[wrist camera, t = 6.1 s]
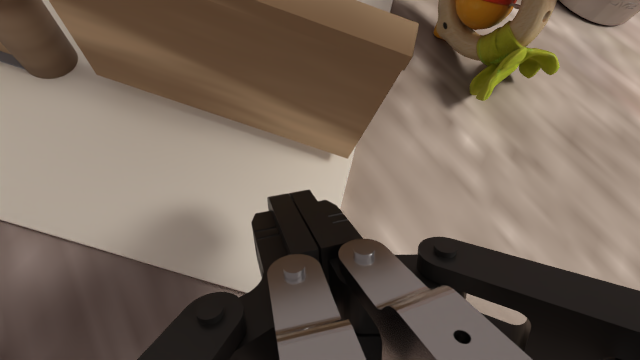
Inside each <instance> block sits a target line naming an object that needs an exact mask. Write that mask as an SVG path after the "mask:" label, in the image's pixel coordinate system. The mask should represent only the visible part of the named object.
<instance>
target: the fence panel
mask: <svg viewBox="0 0 640 360" xmlns="http://www.w3.org/2000/svg"><path fill="white" fill-rule="evenodd" d="M49 2H50V3H51V5H52V6H53V8H54V9H55V11H56V13H57V14H58V16H59V17H60V19H61V20H62V22H63V23H64V25H65V27H66V28H67V30H68V31H69V33H70V34H71V36H72V37H73V39H74V40H75V42H76V44H77V45H78V47H79V48H80V50H81V51H82V53H83V54H84V56H85V58H86V59H87V61H88V62H89V64H90V65H91V67H92V68H93V70H94V71H95V73H96V75H99V76H102V77H105V78H108V79H111V80H114V81H117V82H120V83H123V84H126V85H129V86H132V87H135V88H138V89H140V90H143V91H146V92H149V93H152V94H155V95H158V96H161V97H164V98H167V99H170V100H173V101H176V102H179V103H182V104H185V105H188V106H191V107H194V108H197V109H200V110H203V111H206V112H209V113H212V114H215V115H218V116H221V117H224V118H227V119H230V120H233V121H236V122H239V123H242V124H245V125H248V126H251V127H254V128H257V129H260V130H263V131H266V132H269V133H272V134H275V135H278V136H281V137H284V138H287V139H290V140H293V141H296V142H299V143H302V144H305V145H308V146H311V147H314V148H317V149H320V150H323V151H326V152H329V153H332V154H335V155H338V156H341V157H344V158H347V159H348V157H349V156H350V154H351V153H352V151H353V149H354V148H355V146H356V144H357V143H358V141H359V139H360V138H361V136H362V135H363V133H364V131H365V130H366V128H367V126H368V125H369V123H370V121H371V120H372V118H373V117H374V115H375V113H376V112H377V110H378V108H379V107H380V105H381V104H382V102H383V100H384V99H385V97H386V95H387V94H388V92H389V90H390V89H391V87H392V86H393V84H394V82H395V81H396V79H397V77H398V76H399V74H400V72H401V71H402V70H405V68H406V67H407V65H408V63H409V62H410V60H411V59H412V56H413V51H414V46H415V41H416V36H417V31H418V26H419V23H416V22H414V21H411V20H408V19H406V18H403V17H400V16H397V15H395V14H392V13H389V12H387V11H384V10H381V9H378V8H376V7H373V6H370V5H368V4H365V3H362V2H360V1H357V0H49Z"/></svg>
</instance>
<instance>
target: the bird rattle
mask: <svg viewBox="0 0 640 360" xmlns="http://www.w3.org/2000/svg"><path fill="white" fill-rule="evenodd" d="M516 1H517V0H439V3H438V22H437V24H436V26H435V29H434V35H435V36H436V37H438V38H440V39H444V40H446V41H447V43H448V44H449V45H450V46H451V47H452V48H453V49H454V50H455V51H457V52H458V53H460V54H461V55H463V56H465V57H468V58H471V59H474V60H479V61H481V62H482V63H484V64H485V65H487V67H486V68H485V69H484V70H482V71H481V72H480V73H479V74H478V75H477V76H475V77H474V78H473V80H472V81H471V84H470V94H471V95H477V96H476V99H478V100H482V101H483V100H486V99H488V97H489V96H490V95H491V93H492V91H493V89H494V87H495V86H496V85H497V84H498V83H500V82H501V81H502V80H503V79H505V78H506V77H507V76H509V75H510V74H511V73H512V72H513V71H514V70H515V69H516V68H517V67H518V66H519V71H520V73H521V74H522V75H524V76H525V77H527V78H531V77H533V76H534V75H535V74H536V73H537V72H538V71H539V69H540V68H542V70H543V71H544V72H546V73H547V74H549V75H552V74H554V73H556V72H557V70H558V69H559V62H558V59H557V57H556V55H555V54H553V53H552V52H549V51H546V50H541V49H537V48H527V47H526V46H527V45H528V44H529V43H530V42H531V41H533V40H534V39H535V37H536V36H537V35H538V34H539V33H540V32H541V30H542V29H543V28H544V26H545V25H546V23H547V21H548V20H549V18H550V16H551V14H552V12H553V9H554V7H555V4H556V1H557V0H522V2H521V5H518V4H515V3H516ZM513 7H514V8H516V9H519V11H518V13H517V15H516V16H515V18H514V19H513V20H512V21H509V22H507V23H506V24H505V25H504V26H503V27H500V28H497V29H496V30H494V31H493V32H492V33H489V34H487V35H484V36H483V35H479V34H477V33H476V32H475V31H474V30H477V29H486V28H490V27H492V26H494V25H496V24H498V23H500V22H501V21H502V20H503V19H505V18H506V17H507V16H508V15H509V13H510V12H511V11H512V9H513ZM473 29H474V30H473Z"/></svg>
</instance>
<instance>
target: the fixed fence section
mask: <svg viewBox="0 0 640 360" xmlns="http://www.w3.org/2000/svg"><path fill="white" fill-rule="evenodd" d="M0 51H2V52H5V53H8V54H11V55H13V56H14V58H15V59H16V60H17V61H18V62H19V63H20V64H21V65H22V66H23V67H24V68H25V69H26V71H27V72H28V73H30V74H31V75H33V76H35V77H38V78H42V79H54V78H59V77H62V76H64V75H66V74H68V73H69V72H71V71H72V70H73V69H74V68H75V66H76V65H77V62H78V55H77V53H76V51H75V49H74V48H73V46H72V45H71V43H70V42H69V40H68V39H67V37H66V36H65V34H64V33H63V31H62V30H61V28H60V27H59V25H58V24H57V22H56V21H55V19H54V18H53V16H52V15H51V13H50V12H49V10H48V9H47V7H46V6H45V4H44V3H43V1H42V0H0Z"/></svg>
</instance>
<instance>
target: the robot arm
mask: <svg viewBox="0 0 640 360" xmlns="http://www.w3.org/2000/svg"><path fill="white" fill-rule="evenodd" d="M559 1H560V2H561V3H562V4H564V5H565V6H566V7H567V8H569V9H570V10H571V11H573V12H574V13H576V14H578V15H579V16H581V17H583V18H585V19H587V20H590V21H592V22H595V23H599V24H603V25H610V26H612V25H620V24H623V23H625V22H626V21H628V20H629V19H630V18H632V17H633V16H634V15H635V14H637V13H638V12H639V11H640V0H559ZM267 202H268V210H269V211H265V212H260V213H255V215H254V218H253V220H252V222H251V224H252V230H253V237H254V243H255V250H256V256H257V261H258V265H259V269H260V274H261V277H262V279H261V281H260V282H259V284H258V285H257V286H256V287H255V288H254V289H253V290H251V291H250V292H248V293H247V294H245V295H243V296H241V297H239V298H238V297H237V296H235V295H234V294H231V293H227V292H216V293H211V294H207V295H204V296H202V297H200V298H198V299H196V300H195V301H193V302H192V303H191V304H189V305H188V306H187V307H186V308H185V309H184V310H183V311H182V312H181V314H180V315H179V316H178V317H177V318H176V319H175V320H174V321H173V322H172V323H171V324H170V325H169V326H168V327H167V329H166V330H165V331H164V332H163V333H162V334H161V335H160V336H159V337H158V338H157V339H156V340H155V341H154V342H153V343H152V345H151V346H150V347H149V348H148V349H147V350H146V351H145V352H144V353H143V354H142V355H141V356H140V357H139V358H138V359H137V360H640V291H638V290H634V289H631V288H627V287H624V286H620V285H616V284H613V283H609V282H606V281H602V280H598V279H595V278H591V277H588V276H584V275H580V274H577V273H573V272H570V271H566V270H562V269H559V268H555V267H552V266H548V265H544V264H541V263H537V262H534V261H530V260H526V259H523V258H519V257H516V256H512V255H508V254H505V253H501V252H498V251H494V250H490V249H487V248H483V247H480V246H476V245H473V244H469V243H465V242H462V241H458V240H455V239H451V238H446V237H431V238H427V239H425V240H423V241H422V242H421V243H420V244H419V246H418V255H394V254H393V253H392V252H391V251H390V250H389V249H388V248H387V247H386V246H384V245H383V244H381V243H380V242H377V241H374V240H370V239H363V238H362V237H361V235H360V234H359V233H358V232H357V230H356V229H355V228H354V227H353V225H352V224H351V223H350V222H349V220H347V218H346V217H345V215H344V214H343V213H342V211H341V210H340V209H339V208H338V206H337V205H335V204H333V203H331V202H329V201H327V200H322V201H317V199H316V198H315V196H314V195H313V194H312V192H311V191H310V190H303V191H298V192H292V193H289V194H288V193H286V194H281V195H276V196H270V197H267ZM467 293H468V294H470V295H473V296H476V297H479V298H482V299H485V300H487V301H490V302H493V303H496V304H499V305H501V306H504V307H507V308H510V309H513V310H516V311H518V312H520V313H522V314H523V315H525V316H526V317H527V321H526V322H525V323H524V324H522V325H512V324H509V323H506V322H503V321H501V320H498V319H495V318H493V317H490V316H487V315H485V314H482V313H480V312H479V311H478V310H477V309H475V308H474V307H473V306H472V305H471V304H470V303H469V302H468V301H466V300H465V299H466V294H467Z"/></svg>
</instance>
